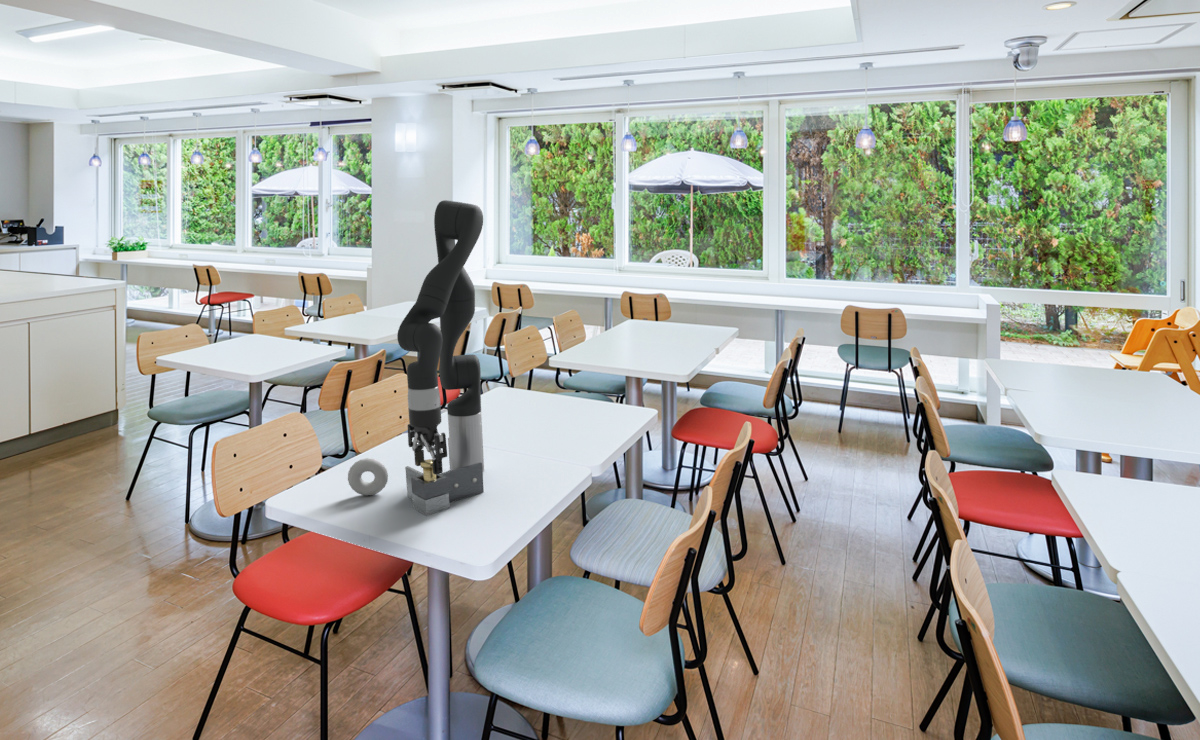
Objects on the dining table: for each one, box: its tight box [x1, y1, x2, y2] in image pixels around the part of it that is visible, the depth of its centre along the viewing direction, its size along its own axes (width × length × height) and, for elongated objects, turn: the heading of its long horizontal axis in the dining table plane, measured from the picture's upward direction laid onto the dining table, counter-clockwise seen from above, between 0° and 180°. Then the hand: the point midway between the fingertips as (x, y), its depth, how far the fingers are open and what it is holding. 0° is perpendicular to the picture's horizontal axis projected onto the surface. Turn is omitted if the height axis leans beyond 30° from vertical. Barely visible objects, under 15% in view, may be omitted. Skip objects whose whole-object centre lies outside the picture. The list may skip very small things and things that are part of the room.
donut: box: [347, 457, 389, 496], centre depth 185 cm, size 10×4×10 cm, turn 100°
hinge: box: [404, 462, 485, 516], centre depth 183 cm, size 14×18×8 cm
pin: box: [420, 458, 436, 482], centre depth 176 cm, size 4×4×12 cm
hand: (428, 469), depth 175 cm, fingers open, 8 cm apart
